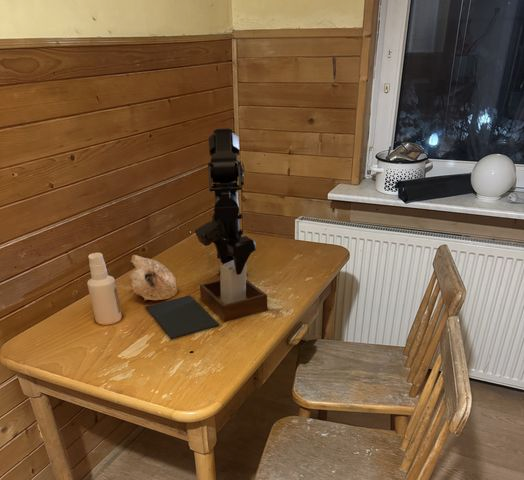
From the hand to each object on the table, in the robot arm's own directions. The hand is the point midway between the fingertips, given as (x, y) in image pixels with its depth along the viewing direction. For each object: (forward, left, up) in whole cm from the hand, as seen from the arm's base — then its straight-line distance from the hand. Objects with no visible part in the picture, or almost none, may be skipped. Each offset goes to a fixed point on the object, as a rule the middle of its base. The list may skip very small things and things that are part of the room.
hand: (231, 268), depth 134 cm
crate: (0, 0, -11) cm, 11 cm away
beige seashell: (-19, -16, -11) cm, 27 cm away
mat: (-1, -15, -11) cm, 18 cm away
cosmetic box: (0, 0, -11) cm, 11 cm away
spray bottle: (-10, -32, -11) cm, 35 cm away
